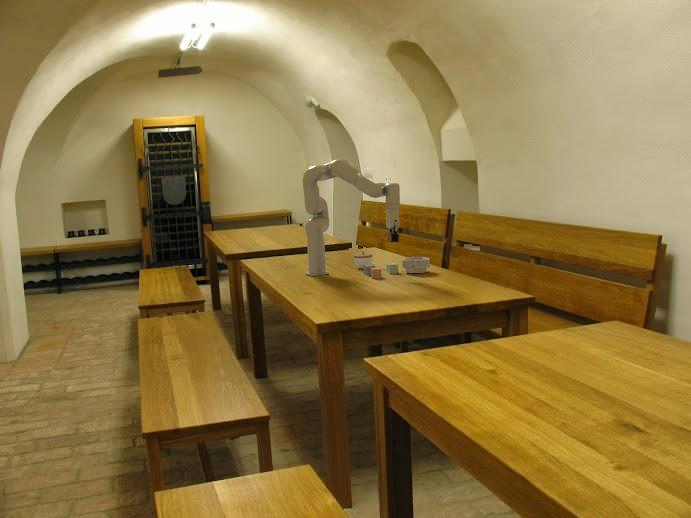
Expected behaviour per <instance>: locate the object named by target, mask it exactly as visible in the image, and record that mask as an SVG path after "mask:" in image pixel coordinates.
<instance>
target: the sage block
mask: <svg viewBox="0 0 691 518" xmlns="http://www.w3.org/2000/svg"><path fill="white" fill-rule="evenodd" d="M385 266H386V273H387V272H388V273H387V274H389V273H394V274H399V264H398V263H397V262H391V263H386V264H385Z"/></svg>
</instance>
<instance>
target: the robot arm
mask: <svg viewBox="0 0 691 518" xmlns="http://www.w3.org/2000/svg"><path fill="white" fill-rule="evenodd" d="M334 178H339V179H341V180H343V181H345V182H347V183H348V184H350V185H352V186H353V187H354V188H356V189H357V190H358V191H360V193H361V192H362V193H363V194H365V195H367V196H368V197H370V198H374V199H378V198H382V197H385V210H386V212H385V213H386V217H385V226H386V228H388V232H392V242H391V243H399V242H398V232H399V228H400V212H399V210H401V193H400V191H401V190H400V189H401V187H400V184H399V183H397V182H393V183H391V182H389V183H386V182H385V183H384V182H377V183H376V182H374V181H372V180H370V179H368V178H367V177H365V176H364V175H363V174H362V171H360V170H359V169H358V168H356V167H354V166H352V165H350V163H349V161H347V159H344V158H343V159H341V158H340V159H335V160H333V161H331V162H328V163H326V164H319V165H318V164H317V165H313V166H310V167H309V168H307V170H305V172H304V173H303V175H302V188H303V199H304V208H305V212H306V213H307V214H308V215H312V217H310V218H309V219H308V220H307V221H306V223H305V227H304V228H305V229H304V230H305V233H306V234H305V235H306V242H307V243H306V244H307V264H308V269H307V270H308V271H306V272H305V275H306V276H309V275H310V276H311V277H312V276H313V277H315V276H316V277H318V276H319V275H321V276H327V275H329V271H328V270H326V269H327V268H326V247H325V245H326V244H325V237H324V233H325V232H327V230H328V229H329V227H330V217H329V206H328V202H327V201H326V199H325V198H324V197H321V195H320V188H319V185H318V182H322V181H323V182H324V181H327V180H328V181H329V180H331V179H334ZM326 274H327V275H326ZM319 277H320V276H319Z"/></svg>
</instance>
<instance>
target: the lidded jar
mask: <svg viewBox="0 0 691 518" xmlns="http://www.w3.org/2000/svg"><path fill="white" fill-rule="evenodd" d="M353 257H354V258H353V259H354V264H355V266H356V267H357V268H358V269H359V268H361V269H362V268H363V265H373V264H372V263H373V254H372V253H370V252H369V253H365V251H362V252H361V253H356V254H354V255H353ZM361 269H360V270H361ZM362 270H363V269H362Z"/></svg>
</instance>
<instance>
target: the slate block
mask: <svg viewBox="0 0 691 518" xmlns="http://www.w3.org/2000/svg"><path fill="white" fill-rule="evenodd" d="M371 268H376V265H375V264H371V265H363V269H362V270H363V275H364V274H366V275H365V276H367V275H368V276H371Z"/></svg>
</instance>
